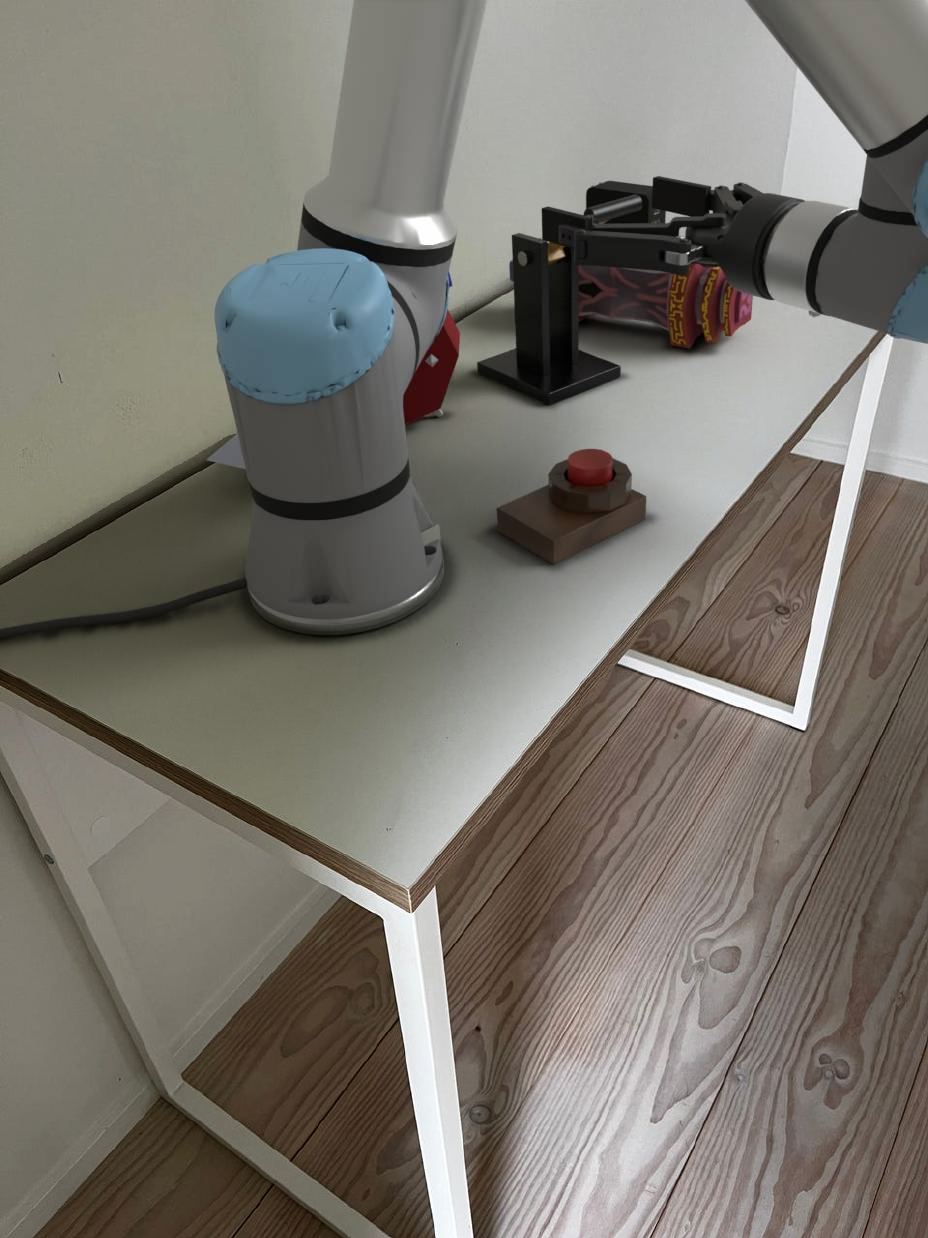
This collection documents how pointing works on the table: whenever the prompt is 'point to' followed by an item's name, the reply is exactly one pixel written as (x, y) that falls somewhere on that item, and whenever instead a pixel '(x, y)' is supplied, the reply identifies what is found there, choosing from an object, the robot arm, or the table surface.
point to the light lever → (600, 219)
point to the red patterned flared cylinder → (665, 300)
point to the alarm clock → (433, 373)
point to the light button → (590, 467)
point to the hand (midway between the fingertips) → (601, 206)
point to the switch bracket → (546, 329)
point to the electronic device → (621, 190)
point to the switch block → (572, 513)
